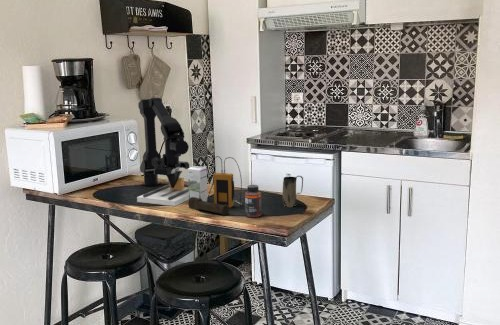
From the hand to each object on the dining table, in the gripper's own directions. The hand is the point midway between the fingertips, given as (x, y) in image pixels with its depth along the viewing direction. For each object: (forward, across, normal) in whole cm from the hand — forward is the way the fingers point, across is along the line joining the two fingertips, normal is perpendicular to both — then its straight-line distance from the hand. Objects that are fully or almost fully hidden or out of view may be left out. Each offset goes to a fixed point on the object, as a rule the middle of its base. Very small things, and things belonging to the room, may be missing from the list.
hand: (172, 188), depth 215 cm
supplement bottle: (+4, +14, +43) cm, 46 cm away
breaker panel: (+4, +2, 0) cm, 4 cm away
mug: (+3, -4, +52) cm, 52 cm away
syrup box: (+4, +5, +15) cm, 16 cm away
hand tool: (+4, +15, +24) cm, 29 cm away
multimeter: (+4, +3, +27) cm, 28 cm away
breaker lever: (+1, -3, 0) cm, 3 cm away
